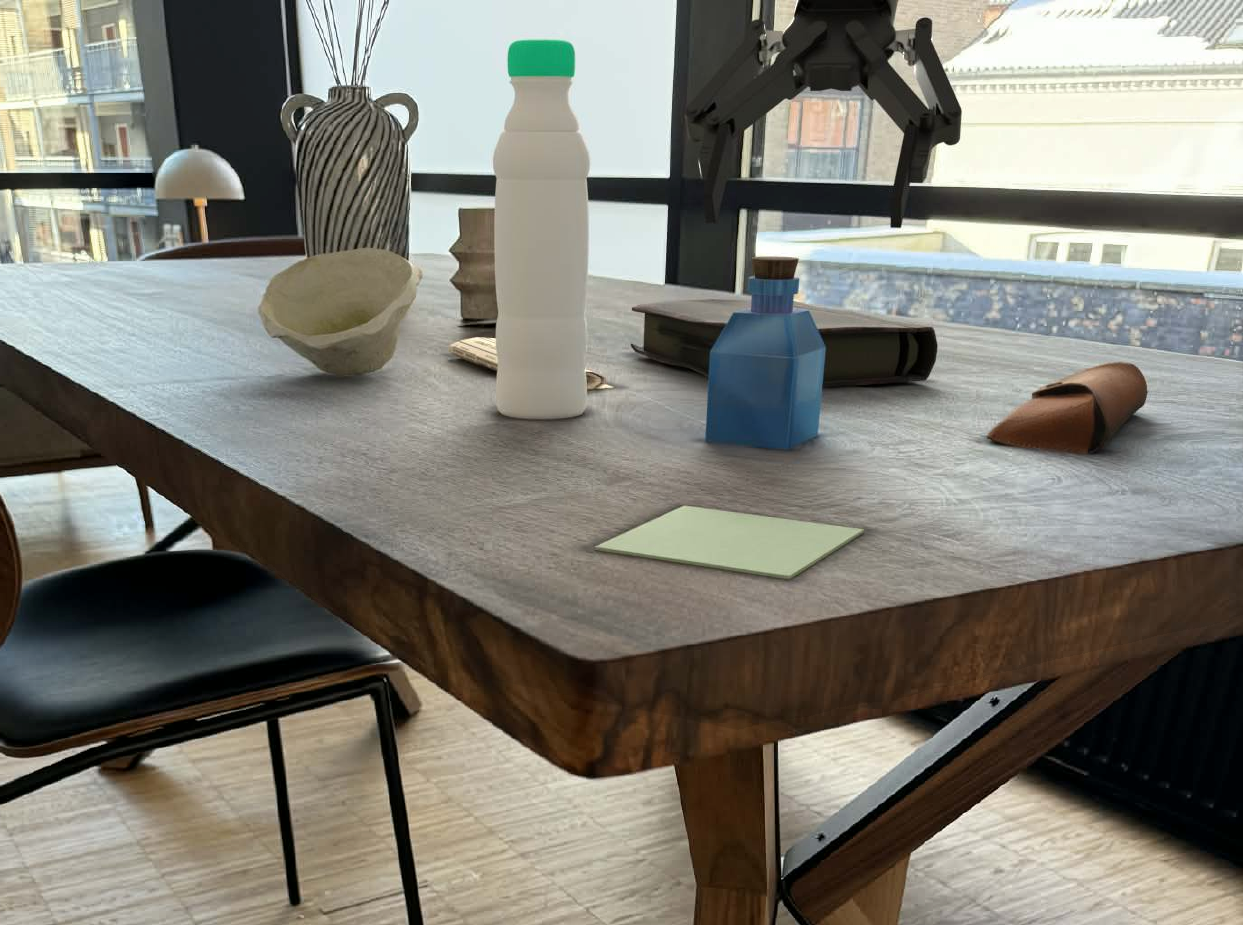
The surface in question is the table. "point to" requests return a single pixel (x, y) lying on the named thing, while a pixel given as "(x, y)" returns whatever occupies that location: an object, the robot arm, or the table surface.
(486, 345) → the newspaper
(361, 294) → the bowl
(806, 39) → the robot arm
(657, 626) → the table surface
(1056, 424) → the sunglasses case
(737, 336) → the perfume bottle
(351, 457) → the table surface
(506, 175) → the water bottle
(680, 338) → the diary
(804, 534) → the mat
